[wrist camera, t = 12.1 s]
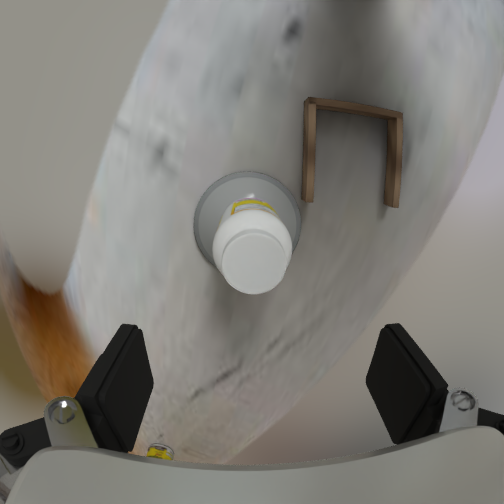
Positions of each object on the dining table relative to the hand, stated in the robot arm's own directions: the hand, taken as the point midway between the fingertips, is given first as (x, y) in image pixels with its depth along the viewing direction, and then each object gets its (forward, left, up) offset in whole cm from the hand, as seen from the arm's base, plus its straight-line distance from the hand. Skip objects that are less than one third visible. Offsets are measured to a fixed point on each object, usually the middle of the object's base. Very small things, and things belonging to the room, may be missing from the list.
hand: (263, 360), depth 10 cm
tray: (0, 0, -24) cm, 24 cm away
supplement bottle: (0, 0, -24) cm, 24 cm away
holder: (-9, +12, -24) cm, 28 cm away
